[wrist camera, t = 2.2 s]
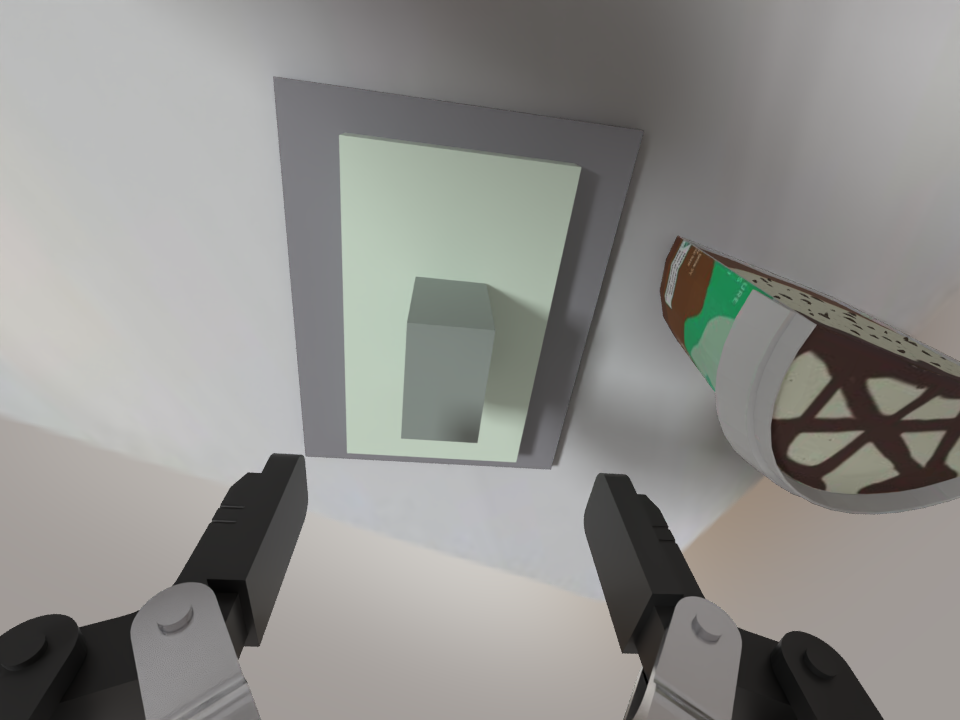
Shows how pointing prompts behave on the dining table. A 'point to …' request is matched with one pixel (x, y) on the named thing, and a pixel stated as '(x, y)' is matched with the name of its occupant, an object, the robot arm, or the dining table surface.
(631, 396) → the dining table surface
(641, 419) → the dining table surface
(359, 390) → the lid
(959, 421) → the food container
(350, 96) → the mat
